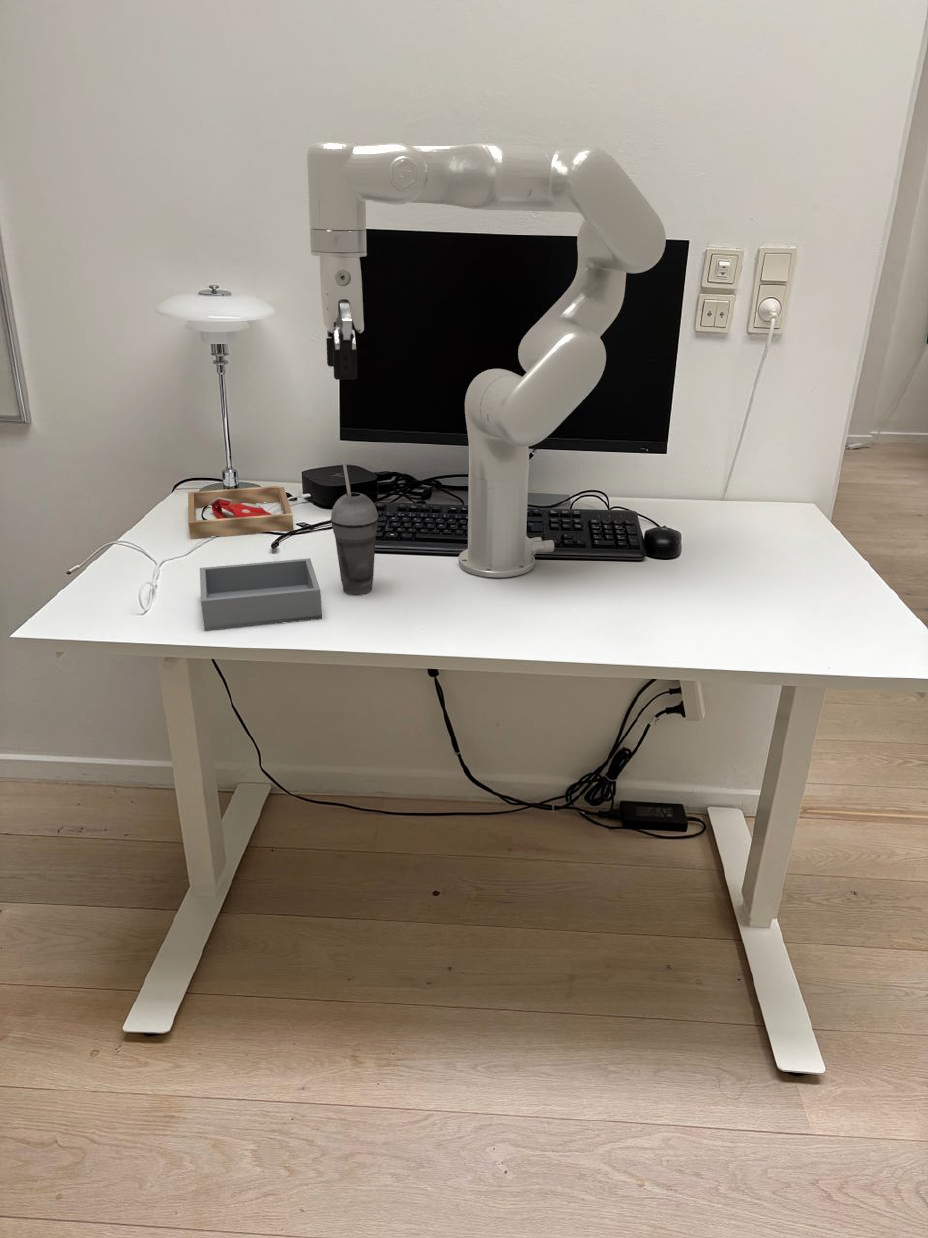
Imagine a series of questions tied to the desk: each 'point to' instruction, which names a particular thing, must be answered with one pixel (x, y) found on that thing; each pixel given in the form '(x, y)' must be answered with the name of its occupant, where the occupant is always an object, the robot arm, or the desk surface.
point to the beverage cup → (355, 539)
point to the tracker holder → (236, 508)
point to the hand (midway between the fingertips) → (341, 372)
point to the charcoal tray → (259, 594)
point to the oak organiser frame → (240, 523)
